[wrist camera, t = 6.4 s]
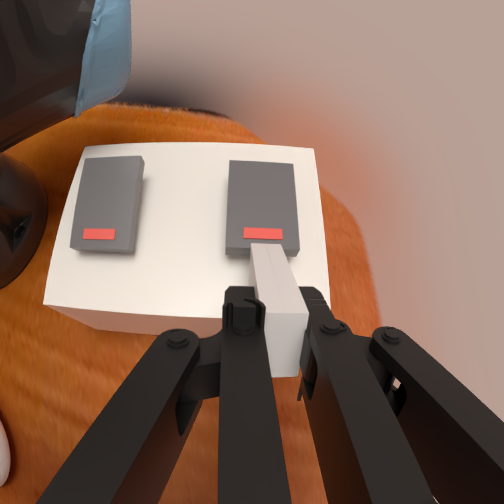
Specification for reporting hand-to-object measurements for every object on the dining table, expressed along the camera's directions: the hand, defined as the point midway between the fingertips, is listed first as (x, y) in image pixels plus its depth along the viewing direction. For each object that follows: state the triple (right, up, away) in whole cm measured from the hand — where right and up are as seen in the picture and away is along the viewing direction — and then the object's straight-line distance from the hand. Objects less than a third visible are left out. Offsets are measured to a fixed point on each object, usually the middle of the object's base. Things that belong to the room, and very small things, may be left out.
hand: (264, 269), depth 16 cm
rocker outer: (0, +3, +1) cm, 4 cm away
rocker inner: (-9, +4, +1) cm, 10 cm away
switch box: (-5, 0, +11) cm, 12 cm away
